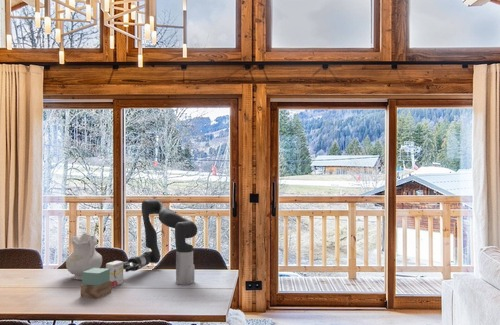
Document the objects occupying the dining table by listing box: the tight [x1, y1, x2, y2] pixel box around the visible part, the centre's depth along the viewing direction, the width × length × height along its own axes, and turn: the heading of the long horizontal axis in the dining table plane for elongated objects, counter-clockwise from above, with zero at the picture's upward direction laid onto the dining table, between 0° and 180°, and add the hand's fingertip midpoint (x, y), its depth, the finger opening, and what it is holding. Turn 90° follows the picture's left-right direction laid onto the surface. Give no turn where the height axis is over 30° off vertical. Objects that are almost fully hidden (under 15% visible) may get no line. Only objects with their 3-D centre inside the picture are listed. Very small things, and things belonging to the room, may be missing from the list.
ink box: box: [105, 260, 124, 288], centre depth 210 cm, size 9×5×12 cm, turn 156°
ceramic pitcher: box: [65, 232, 103, 281], centre depth 224 cm, size 22×20×25 cm
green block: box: [81, 267, 110, 286], centre depth 194 cm, size 9×9×6 cm
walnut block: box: [80, 281, 112, 299], centre depth 193 cm, size 10×10×6 cm
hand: (119, 269), depth 215 cm, fingers open, 8 cm apart
